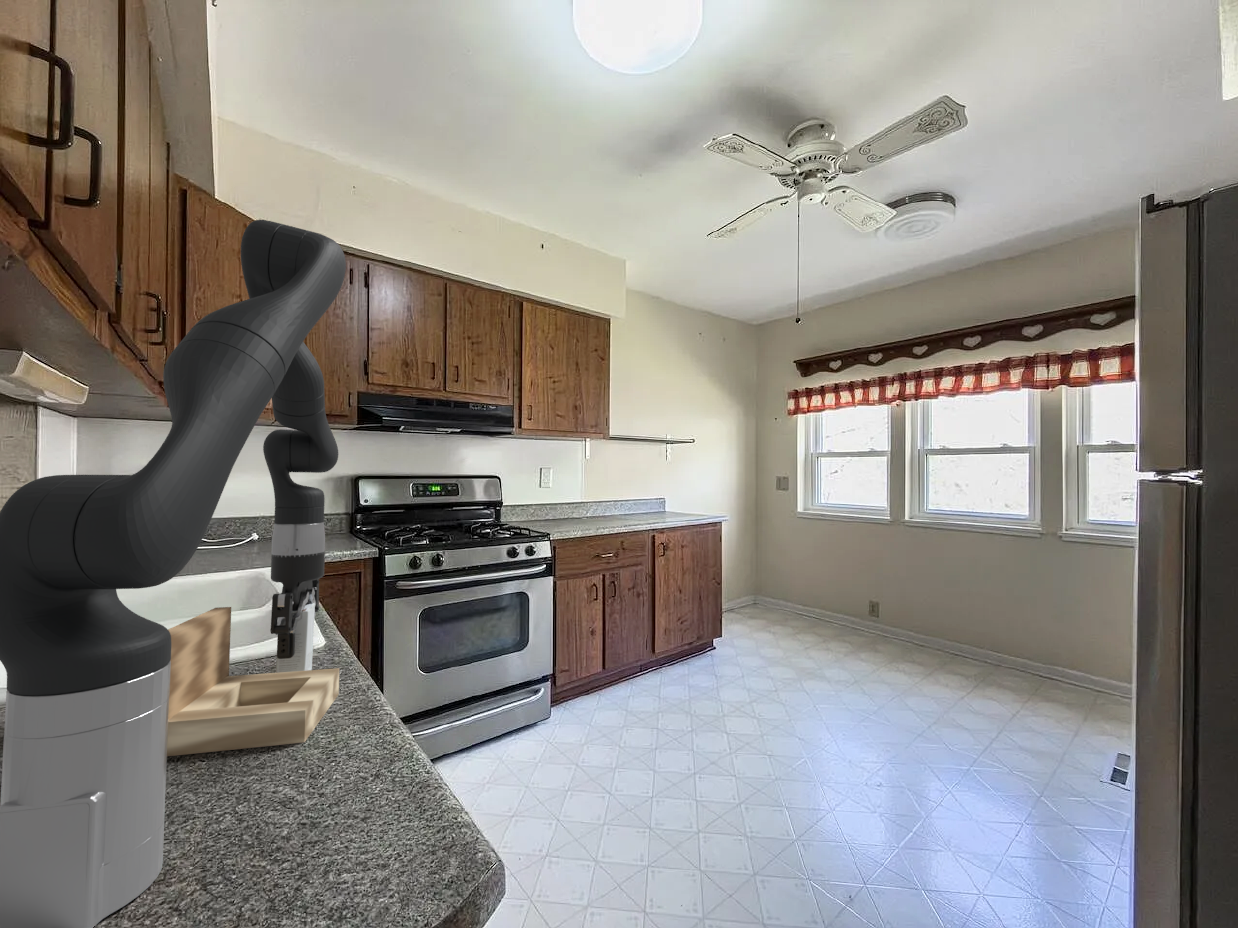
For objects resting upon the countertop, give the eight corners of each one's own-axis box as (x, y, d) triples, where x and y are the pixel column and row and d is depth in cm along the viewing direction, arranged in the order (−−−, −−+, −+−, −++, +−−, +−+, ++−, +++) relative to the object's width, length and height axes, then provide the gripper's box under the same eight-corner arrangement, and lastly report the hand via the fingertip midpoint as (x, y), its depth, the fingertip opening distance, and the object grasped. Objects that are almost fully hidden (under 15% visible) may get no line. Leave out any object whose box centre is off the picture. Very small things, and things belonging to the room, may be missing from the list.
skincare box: (283, 676, 86) (285, 603, 87) (313, 672, 88) (315, 601, 89) (273, 689, 81) (276, 612, 81) (306, 686, 82) (308, 609, 83)
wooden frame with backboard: (303, 744, 64) (306, 630, 65) (140, 760, 60) (145, 639, 61) (339, 693, 80) (342, 602, 80) (212, 703, 76) (215, 607, 76)
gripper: (309, 555, 79) (306, 662, 79) (336, 544, 93) (333, 635, 92) (253, 557, 77) (250, 666, 77) (289, 545, 91) (286, 638, 91)
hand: (295, 649), depth 85 cm, fingers open, 8 cm apart
